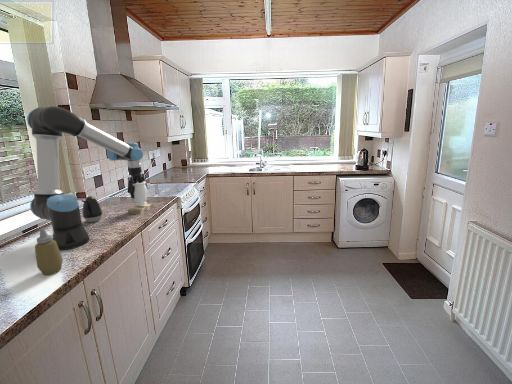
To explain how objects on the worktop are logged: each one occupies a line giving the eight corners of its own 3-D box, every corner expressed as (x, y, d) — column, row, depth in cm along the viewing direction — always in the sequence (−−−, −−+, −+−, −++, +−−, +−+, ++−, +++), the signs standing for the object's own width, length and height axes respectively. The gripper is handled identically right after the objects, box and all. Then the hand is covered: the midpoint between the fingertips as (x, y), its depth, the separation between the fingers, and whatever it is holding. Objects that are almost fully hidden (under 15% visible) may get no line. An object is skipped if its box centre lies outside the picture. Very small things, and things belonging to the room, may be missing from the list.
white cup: (130, 207, 175) (126, 184, 171) (132, 203, 184) (129, 181, 181) (147, 205, 177) (144, 183, 174) (149, 201, 187) (146, 180, 183)
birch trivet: (140, 213, 174) (140, 210, 174) (128, 213, 176) (127, 209, 176) (152, 207, 188) (152, 203, 187) (141, 206, 189) (140, 203, 189)
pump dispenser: (79, 223, 161) (74, 198, 157) (95, 217, 170) (90, 193, 167) (92, 224, 157) (87, 199, 154) (107, 218, 167) (103, 194, 163)
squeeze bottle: (34, 274, 105) (23, 231, 100) (55, 264, 112) (46, 223, 108) (48, 278, 102) (37, 233, 97) (69, 267, 109) (60, 225, 105)
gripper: (128, 170, 163) (133, 205, 169) (150, 164, 185) (154, 196, 190) (117, 170, 165) (123, 205, 170) (140, 164, 186) (144, 195, 192)
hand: (139, 200), depth 180 cm, fingers closed on white cup, 10 cm apart
